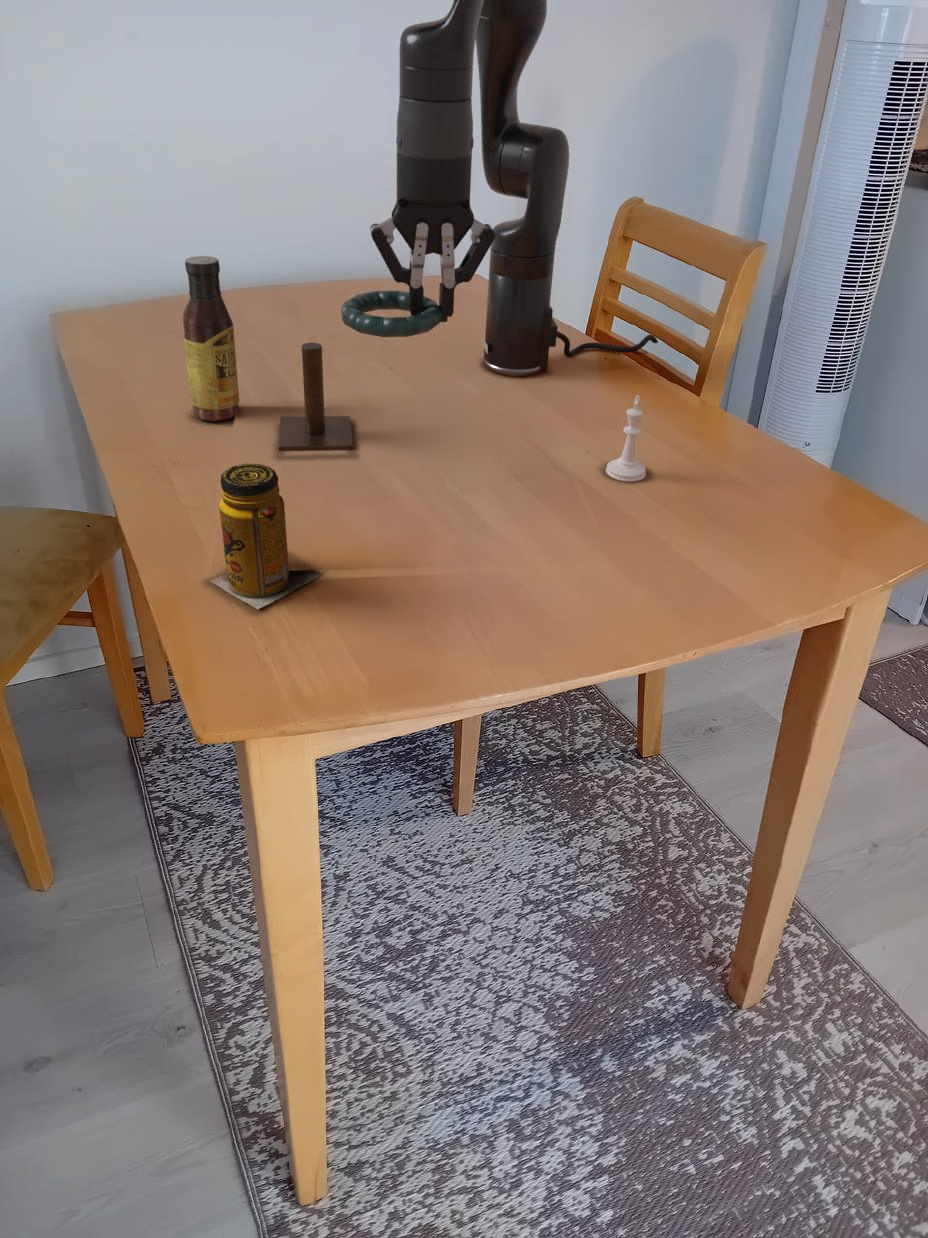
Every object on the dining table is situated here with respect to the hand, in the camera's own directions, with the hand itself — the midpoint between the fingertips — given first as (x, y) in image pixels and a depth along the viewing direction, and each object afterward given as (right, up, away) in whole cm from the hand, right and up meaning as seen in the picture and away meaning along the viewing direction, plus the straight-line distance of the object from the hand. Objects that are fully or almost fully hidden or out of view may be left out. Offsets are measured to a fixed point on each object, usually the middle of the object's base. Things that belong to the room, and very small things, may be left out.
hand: (430, 319), depth 107 cm
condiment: (-16, -29, -9) cm, 35 cm away
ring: (-4, 0, -1) cm, 4 cm away
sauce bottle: (-29, -6, +23) cm, 37 cm away
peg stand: (-15, -10, +17) cm, 25 cm away
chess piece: (+24, -15, +14) cm, 31 cm away
